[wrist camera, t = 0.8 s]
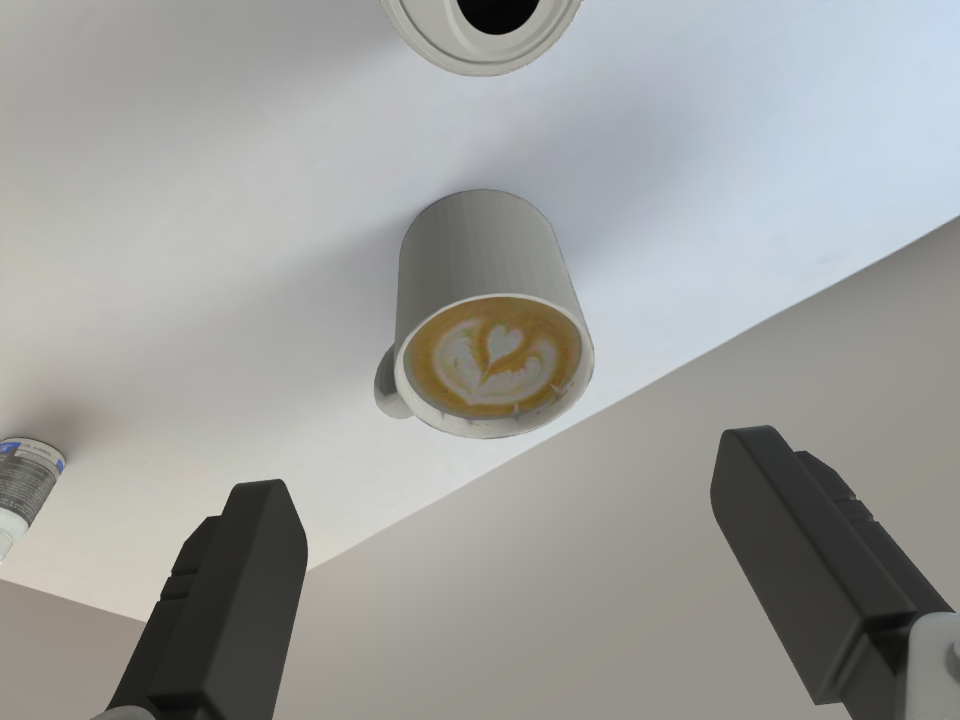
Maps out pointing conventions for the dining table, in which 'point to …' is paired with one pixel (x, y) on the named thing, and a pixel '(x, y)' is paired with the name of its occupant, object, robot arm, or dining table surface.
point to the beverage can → (481, 31)
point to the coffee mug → (484, 321)
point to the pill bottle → (24, 485)
